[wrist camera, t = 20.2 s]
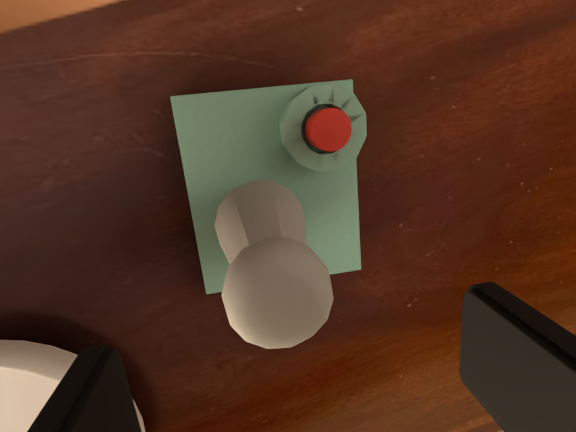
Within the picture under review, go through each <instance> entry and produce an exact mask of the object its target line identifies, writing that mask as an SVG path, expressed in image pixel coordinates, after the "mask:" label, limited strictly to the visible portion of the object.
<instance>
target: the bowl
mask: <svg viewBox="0 0 576 432" xmlns="http://www.w3.org/2000/svg"><path fill="white" fill-rule="evenodd" d="M77 356H78V355H77V354H74V353H72V352H69V351H66V350H63V349H60V348H57V347H54V346H51V345H46V344H40V343H35V342H29V341H24V340H0V432H27V431H28V429H29V428H30V426H31V425H32V423H33V422H34V420H35V419H36V417H37V416H38V414H39V413H40V411H41V410H42V408H43V407H44V405H45V404H46V402H47V401H48V399H49V398H50V396H51V395H52V393H53V392H54V390H55V389H56V387H57V386H58V384H59V383H60V381H61V380H62V378H63V377H64V375H65V374H66V372H67V371H68V369H69V368H70V366H71V365H72V363H73V362H74V360H75V359H76V357H77ZM132 399H133V398H132ZM133 402H134V400H133ZM134 406H135V410H136V413H137V417H138V420H139V424H140V427H141V431H142V432H145V428H144V423H143V418H142V416H141V414H140V412H139V410H138V408H137V406H136V404H135V402H134Z"/></svg>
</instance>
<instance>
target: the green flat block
mask: <svg viewBox="0 0 576 432" xmlns="http://www.w3.org/2000/svg"><path fill="white" fill-rule="evenodd" d="M170 99H171V105H172V110H173V116H174V121H175V127H176V132H177V138H178V143H179V148H180V154H181V159H182V165H183V170H184V176H185V181H186V187H187V192H188V198H189V203H190V208H191V214H192V219H193V225H194V230H195V236H196V241H197V247H198V252H199V258H200V263H201V269H202V274H203V279H204V285H205V290H206V294H211V293H217V292H222V291H223V286H224V282H225V278H226V274H227V270H228V266H229V265H230V263H229V261H228V259H227V257H226V255H225V253H224V251H223V249H222V248H221V246H220V243H219V240H218V236H217V233H216V229H215V226H214V225H215V220H216V216H217V212H218V207H219V205H220V204H221V202H222V201H223V200H224V199H225V197H226V196H227V195H228V193H229V192H230V191H231V189H234V188H236V187H238V186H240V185H242V184H245V183H247V182H249V181H268V180H272V181H274V182H275V183H277V184H279V185H281V186H283V187H285V188H287V189H289V190H290V191H291V192H292V193H293V194H294V196H295V197H296V198H297V199H298V201H299V202H300V203H301V204H302V209H303V214H304V220H305V232H306V245H307V246H309V247H310V248H311V249H312V250H313V251H314V252H315V254H316V255H317V256H318V257H319V258H320V260H321V261H322V262H323V263H324V265H325V266H326V267H327V268H328V271H329V275H330V274H336V273H343V272H349V271H355V270H361V254H360V232H359V210H358V188H357V165H356V157H357V155H358V153H359V151H360V149H361V147H362V145H363V143H364V141H365V139H366V136H367V128H366V112H365V111H364V109H363V108H362V106H361V104H360V103H359V101H358V99H357V98H356V96H355V94H353V80H352V79H349V80H338V81H328V82H317V83H307V84H296V85H285V86H275V87H264V88H253V89H243V90H232V91H221V92H211V93H200V94H190V95H179V96H170ZM324 108H337V109H340V110H342V111H343V112H345V113H346V114H347V116H348V117H349V119H350V121H351V125H352V132H351V137H350V139H349V141H348V142H347V144H346V145H345V146H344V147H343V148H341V149H339V150H337V151H333V152H327V151H323V150H320V149H318V148H315V147H314V146H312V145H311V144H310V143H309V141H308V140H307V137H306V134H305V125H306V122H307V120H308V118H309V116H310V115H311V114H312V113H313V112H315V111H317V110H319V109H324Z"/></svg>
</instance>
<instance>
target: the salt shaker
mask: <svg viewBox="0 0 576 432" xmlns="http://www.w3.org/2000/svg"><path fill="white" fill-rule="evenodd" d="M214 226H215V229H216V233H217V236H218V240H219V243H220V246H221V248H222V249H223V251H224V253H225V255H226V257H227V259H228V261H229V263H230V265H229V266H228V270H227V274H226V278H225V282H224V286H223V291H222V299H223V303H224V306H225V309H226V313H227V316H228V319H229V323H230V326H231V327H232V328H233V329H234V330H235V331H236V332H237V333H238V334H239V335H240V336H241V337H242V338H243V339H244V340H245V341H246V342H249V343H252V344H255V345H258V346H261V347H264V348H267V349H272V348H289V347H293V346H295V345H297V344H299V343H301V342H303V341H305V340H307V339H309V338H311V337H312V336H313V335H314V334H315V333H316V332H317V331H318V330H319V329H320V327H321V326H322V325H323V324H324V323H325V322H326V321H327V319H328V316H329V313H330V309H331V306H332V302H333V293H332V287H331V281H330V275H329V271H328V268H327V267H326V266H325V265H324V263H323V262H322V261H321V260H320V258H319V257H318V256H317V255H316V254H315V252H314V251H313V250H312V249H311V248H310V247H309V246H307V245H306V232H305V220H304V214H303V209H302V204H301V203H300V202H299V201H298V199H297V198H296V197H295V196H294V194H293V193H292V192H291V191H290V190H289V189H287V188H285V187H283V186H281V185H279V184H277V183H275V182H274V181H272V180H268V181H249V182H247V183H245V184H242V185H240V186H238V187H236V188H234V189H231V191H230V192H229V193H228V195H227V196H226V197H225V199H224V200H223V201H222V202H221V204H220V205H219V207H218V212H217V216H216V220H215V225H214Z"/></svg>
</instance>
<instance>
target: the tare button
mask: <svg viewBox="0 0 576 432" xmlns="http://www.w3.org/2000/svg"><path fill="white" fill-rule="evenodd" d="M351 132H352V125H351V121H350V119H349V117H348V116H347V114H346V113H345V112H343V111H342V110H340V109H337V108H324V109H319V110H317V111H315V112H313V113H312V114H311V115H310V116H309V118H308V120H307V122H306V125H305V134H306V137H307V140H308V141H309V143H310V144H311V145H312V146H314V147H315V148H318V149H320V150H323V151H327V152H333V151H337V150H339V149H341V148H343V147H344V146H345V145H346V144H347V142H348V141H349V139H350V137H351Z"/></svg>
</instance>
